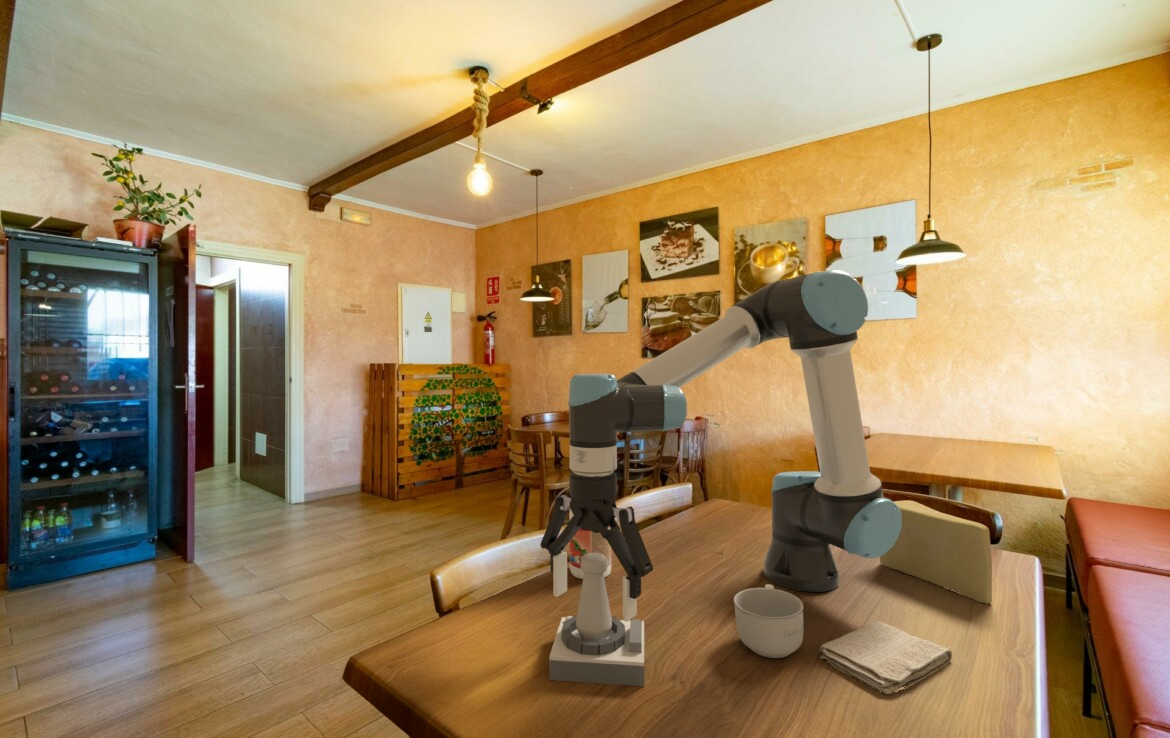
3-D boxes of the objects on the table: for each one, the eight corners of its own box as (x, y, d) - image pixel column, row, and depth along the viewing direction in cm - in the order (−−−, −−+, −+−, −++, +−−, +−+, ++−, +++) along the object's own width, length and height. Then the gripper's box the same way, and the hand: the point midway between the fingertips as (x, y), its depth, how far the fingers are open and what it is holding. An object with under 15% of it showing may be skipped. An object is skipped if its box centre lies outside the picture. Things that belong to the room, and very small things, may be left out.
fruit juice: (612, 581, 111) (612, 451, 111) (568, 581, 111) (568, 451, 111) (610, 564, 121) (610, 444, 120) (570, 564, 121) (570, 444, 121)
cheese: (1008, 602, 101) (1009, 526, 101) (970, 608, 99) (971, 530, 99) (910, 560, 123) (911, 497, 122) (877, 564, 120) (877, 500, 120)
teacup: (796, 675, 78) (796, 622, 78) (725, 653, 83) (725, 604, 83) (811, 633, 90) (811, 588, 89) (748, 617, 95) (748, 574, 95)
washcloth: (815, 661, 82) (815, 642, 82) (877, 630, 91) (878, 613, 91) (892, 703, 72) (892, 681, 72) (953, 664, 81) (954, 644, 81)
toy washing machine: (644, 642, 87) (644, 612, 87) (644, 686, 75) (644, 652, 75) (562, 637, 89) (562, 608, 88) (549, 680, 77) (549, 646, 77)
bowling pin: (619, 636, 82) (619, 555, 82) (595, 651, 78) (596, 564, 78) (591, 624, 86) (592, 546, 86) (568, 637, 82) (568, 555, 82)
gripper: (519, 465, 86) (519, 592, 86) (650, 487, 71) (650, 640, 71) (548, 459, 92) (549, 577, 92) (675, 477, 77) (675, 618, 77)
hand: (593, 605), depth 82 cm, fingers open, 13 cm apart
